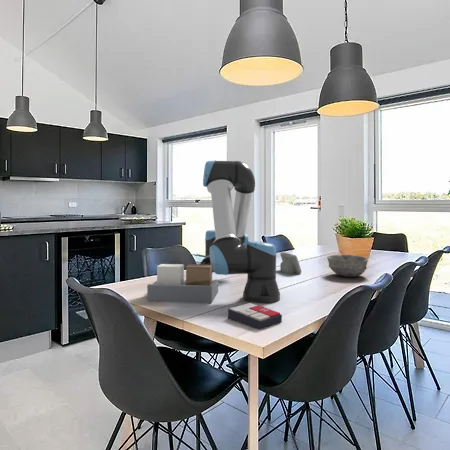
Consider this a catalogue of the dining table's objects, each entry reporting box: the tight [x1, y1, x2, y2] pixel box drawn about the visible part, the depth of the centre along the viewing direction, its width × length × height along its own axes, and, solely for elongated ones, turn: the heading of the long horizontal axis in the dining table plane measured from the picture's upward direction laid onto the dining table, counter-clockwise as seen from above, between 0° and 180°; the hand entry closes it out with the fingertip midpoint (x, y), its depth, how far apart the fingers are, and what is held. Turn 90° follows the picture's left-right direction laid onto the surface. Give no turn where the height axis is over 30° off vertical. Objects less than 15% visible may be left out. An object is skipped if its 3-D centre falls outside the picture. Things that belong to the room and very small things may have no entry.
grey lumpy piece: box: [279, 251, 302, 275], centre depth 213 cm, size 16×9×11 cm, turn 8°
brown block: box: [185, 263, 213, 286], centre depth 160 cm, size 6×10×11 cm, turn 83°
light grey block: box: [156, 263, 185, 285], centre depth 161 cm, size 6×10×11 cm, turn 83°
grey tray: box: [146, 279, 219, 304], centre depth 160 cm, size 18×26×6 cm
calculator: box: [227, 302, 283, 330], centre depth 128 cm, size 11×4×15 cm
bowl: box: [326, 254, 369, 278], centre depth 201 cm, size 21×21×10 cm
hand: (200, 273), depth 163 cm, fingers closed
